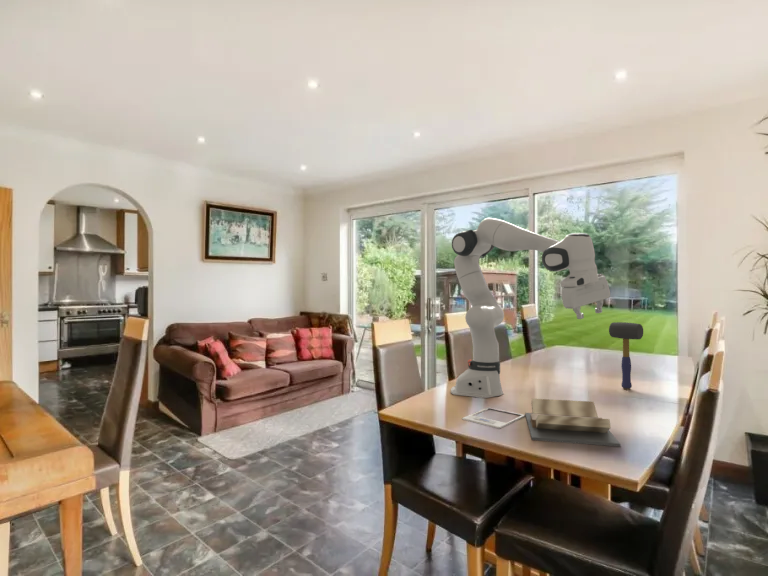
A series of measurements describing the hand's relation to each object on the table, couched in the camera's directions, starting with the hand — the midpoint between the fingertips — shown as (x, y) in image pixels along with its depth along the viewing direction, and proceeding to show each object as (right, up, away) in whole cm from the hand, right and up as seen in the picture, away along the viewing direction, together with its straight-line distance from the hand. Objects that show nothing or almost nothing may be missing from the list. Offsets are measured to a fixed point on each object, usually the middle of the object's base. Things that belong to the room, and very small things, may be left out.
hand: (589, 315), depth 150 cm
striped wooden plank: (-14, -36, -14) cm, 41 cm away
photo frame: (-35, -37, -2) cm, 51 cm away
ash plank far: (-12, -33, -7) cm, 36 cm away
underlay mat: (-14, -36, -14) cm, 41 cm away
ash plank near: (-16, -33, -22) cm, 43 cm away
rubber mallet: (+35, -36, +38) cm, 63 cm away
